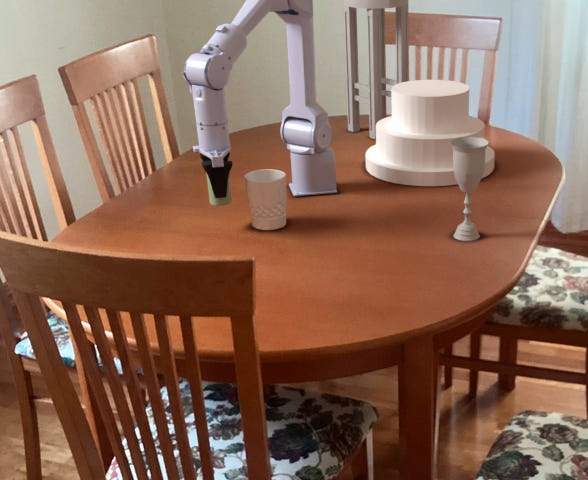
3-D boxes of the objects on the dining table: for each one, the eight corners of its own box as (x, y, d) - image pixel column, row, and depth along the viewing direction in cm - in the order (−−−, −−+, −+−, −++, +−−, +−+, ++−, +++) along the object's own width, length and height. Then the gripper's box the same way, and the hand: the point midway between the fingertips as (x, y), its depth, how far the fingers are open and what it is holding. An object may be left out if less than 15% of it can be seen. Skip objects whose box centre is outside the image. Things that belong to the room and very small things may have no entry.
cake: (512, 179, 205) (517, 98, 196) (382, 191, 199) (380, 108, 190) (471, 143, 230) (473, 70, 221) (354, 153, 224) (351, 77, 215)
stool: (382, 120, 251) (380, -20, 233) (419, 131, 241) (420, -14, 223) (337, 130, 242) (331, -14, 224) (373, 142, 232) (370, -8, 214)
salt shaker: (230, 198, 180) (226, 160, 176) (232, 205, 177) (228, 166, 173) (209, 199, 179) (204, 162, 176) (210, 206, 176) (205, 168, 172)
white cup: (297, 222, 184) (293, 173, 178) (272, 234, 178) (268, 184, 173) (266, 215, 187) (262, 166, 182) (241, 227, 182) (236, 177, 176)
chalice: (473, 245, 172) (476, 150, 163) (441, 238, 175) (443, 144, 166) (491, 233, 177) (495, 140, 168) (460, 226, 181) (462, 135, 171)
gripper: (188, 114, 175) (196, 183, 182) (191, 133, 163) (200, 207, 170) (225, 111, 177) (232, 180, 184) (231, 131, 165) (239, 204, 172)
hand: (219, 193), depth 177 cm, fingers closed on salt shaker, 4 cm apart
